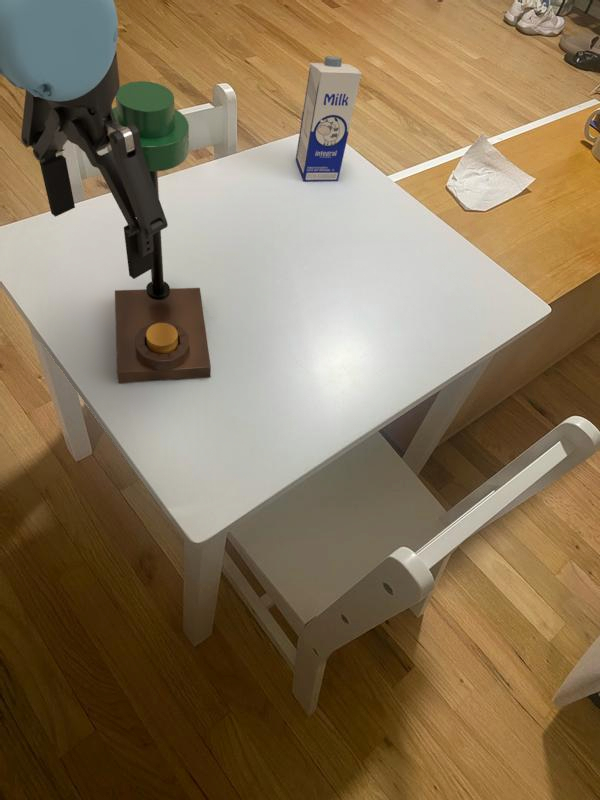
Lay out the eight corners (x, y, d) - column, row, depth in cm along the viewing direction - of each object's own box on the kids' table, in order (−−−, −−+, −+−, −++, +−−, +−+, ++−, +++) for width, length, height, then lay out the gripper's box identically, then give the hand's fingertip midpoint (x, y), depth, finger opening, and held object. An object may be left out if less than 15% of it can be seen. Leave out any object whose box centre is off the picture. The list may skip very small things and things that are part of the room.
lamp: (125, 308, 81) (100, 117, 60) (123, 263, 86) (100, 72, 65) (192, 306, 83) (192, 120, 62) (187, 262, 88) (184, 76, 67)
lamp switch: (147, 355, 78) (146, 346, 76) (146, 332, 80) (145, 323, 78) (179, 353, 79) (178, 344, 77) (176, 330, 81) (176, 321, 79)
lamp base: (118, 383, 79) (115, 364, 76) (116, 301, 87) (113, 280, 84) (210, 377, 82) (211, 358, 78) (199, 298, 90) (199, 278, 87)
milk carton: (302, 181, 111) (320, 70, 95) (294, 159, 114) (310, 50, 98) (338, 181, 112) (363, 72, 96) (330, 159, 116) (351, 51, 100)
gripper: (204, 94, 50) (202, 283, 67) (19, -22, 57) (60, 175, 74) (132, 123, 46) (149, 316, 63) (-56, -5, 53) (5, 199, 70)
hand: (101, 240), depth 68 cm, fingers open, 13 cm apart
